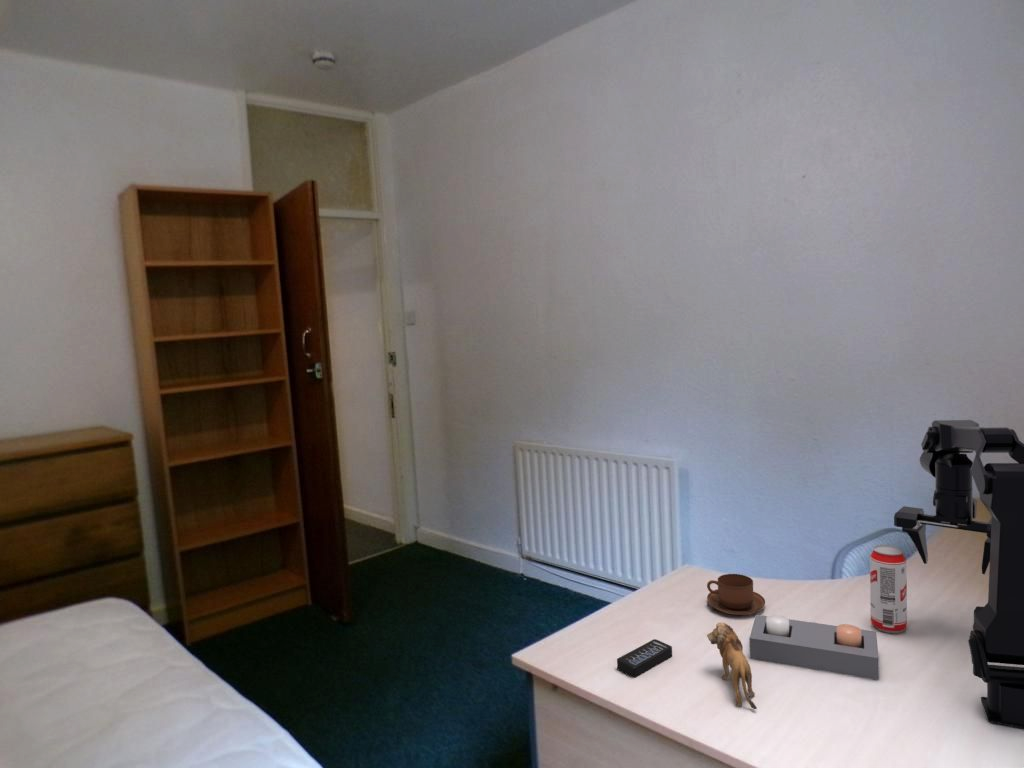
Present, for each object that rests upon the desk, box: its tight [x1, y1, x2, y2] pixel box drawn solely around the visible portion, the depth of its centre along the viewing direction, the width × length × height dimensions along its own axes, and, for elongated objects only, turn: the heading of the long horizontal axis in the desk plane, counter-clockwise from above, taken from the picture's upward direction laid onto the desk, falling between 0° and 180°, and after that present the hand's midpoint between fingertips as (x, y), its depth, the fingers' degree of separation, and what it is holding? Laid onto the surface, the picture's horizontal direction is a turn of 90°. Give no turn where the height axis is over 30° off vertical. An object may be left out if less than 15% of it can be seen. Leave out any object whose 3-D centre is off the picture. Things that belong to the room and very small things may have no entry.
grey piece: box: [766, 614, 789, 637], centre depth 124 cm, size 4×4×4 cm
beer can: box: [869, 544, 908, 634], centre depth 129 cm, size 6×6×16 cm
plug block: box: [748, 614, 880, 681], centre depth 122 cm, size 10×21×4 cm, turn 63°
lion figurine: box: [706, 622, 758, 710], centre depth 113 cm, size 15×5×9 cm, turn 6°
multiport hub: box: [616, 638, 673, 679], centre depth 123 cm, size 4×11×2 cm, turn 128°
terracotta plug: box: [836, 623, 862, 648], centre depth 119 cm, size 4×4×4 cm
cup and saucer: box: [706, 573, 766, 616], centre depth 143 cm, size 12×12×6 cm
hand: (954, 568), depth 123 cm, fingers open, 9 cm apart
